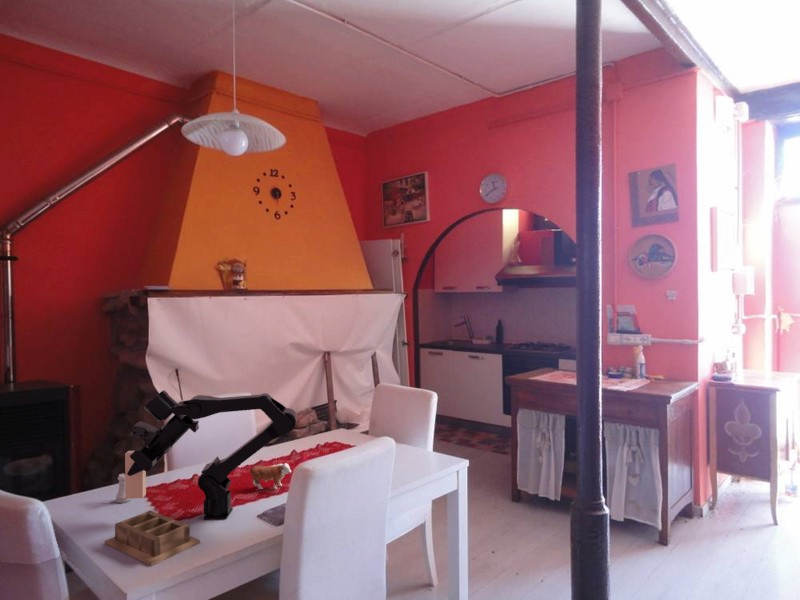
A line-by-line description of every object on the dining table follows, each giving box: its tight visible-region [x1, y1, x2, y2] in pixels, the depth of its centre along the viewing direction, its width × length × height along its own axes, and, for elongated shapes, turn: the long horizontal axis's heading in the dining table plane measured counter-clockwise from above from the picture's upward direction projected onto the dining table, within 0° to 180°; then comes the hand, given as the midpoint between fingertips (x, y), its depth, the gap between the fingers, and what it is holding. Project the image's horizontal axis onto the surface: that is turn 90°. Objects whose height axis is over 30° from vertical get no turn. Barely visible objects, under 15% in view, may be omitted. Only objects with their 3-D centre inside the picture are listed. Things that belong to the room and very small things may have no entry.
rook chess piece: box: [115, 472, 133, 504], centre depth 159 cm, size 4×4×8 cm
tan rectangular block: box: [124, 450, 147, 499], centre depth 146 cm, size 4×2×12 cm, turn 98°
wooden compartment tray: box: [104, 510, 201, 567], centre depth 132 cm, size 13×20×5 cm, turn 58°
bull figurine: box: [249, 462, 292, 490], centre depth 169 cm, size 4×13×8 cm, turn 89°
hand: (130, 473), depth 145 cm, fingers closed on tan rectangular block, 2 cm apart
